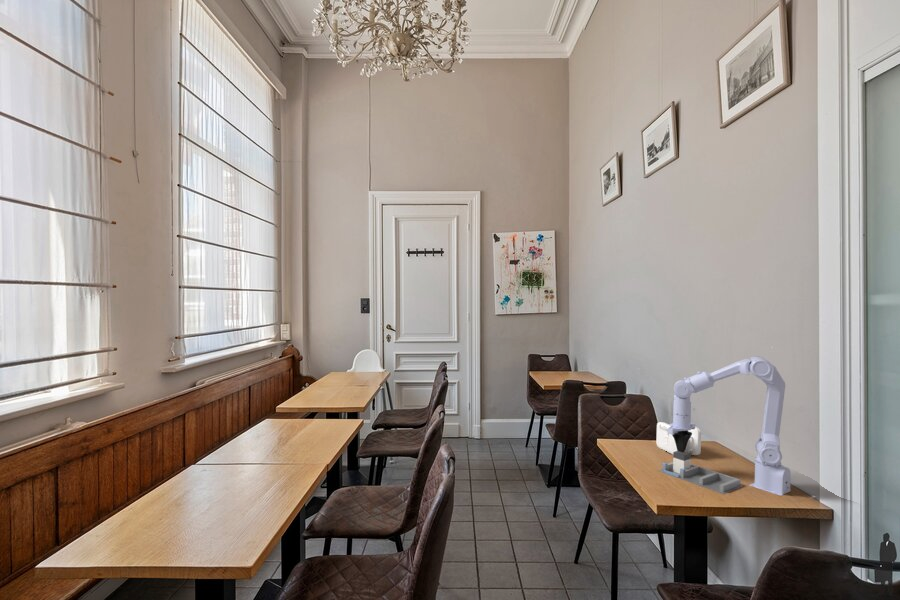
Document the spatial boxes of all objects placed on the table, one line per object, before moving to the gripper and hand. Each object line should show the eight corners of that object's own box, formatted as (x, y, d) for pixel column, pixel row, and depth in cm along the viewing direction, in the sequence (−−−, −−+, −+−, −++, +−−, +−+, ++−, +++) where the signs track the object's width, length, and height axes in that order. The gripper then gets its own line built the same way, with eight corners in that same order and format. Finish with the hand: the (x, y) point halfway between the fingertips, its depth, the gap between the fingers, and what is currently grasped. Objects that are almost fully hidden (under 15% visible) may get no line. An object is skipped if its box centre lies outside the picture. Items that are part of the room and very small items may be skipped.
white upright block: (689, 472, 164) (690, 453, 164) (683, 474, 162) (684, 455, 162) (679, 469, 168) (679, 450, 168) (672, 471, 166) (673, 451, 166)
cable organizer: (702, 458, 182) (703, 429, 182) (680, 460, 179) (681, 430, 179) (675, 446, 197) (676, 419, 196) (654, 447, 194) (655, 420, 194)
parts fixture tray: (743, 487, 154) (743, 477, 154) (723, 496, 147) (723, 485, 147) (677, 465, 173) (678, 456, 173) (657, 472, 166) (657, 462, 166)
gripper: (682, 409, 173) (681, 445, 173) (659, 413, 165) (658, 451, 165) (701, 413, 167) (700, 450, 167) (678, 418, 159) (677, 457, 159)
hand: (681, 451), depth 165 cm, fingers closed
